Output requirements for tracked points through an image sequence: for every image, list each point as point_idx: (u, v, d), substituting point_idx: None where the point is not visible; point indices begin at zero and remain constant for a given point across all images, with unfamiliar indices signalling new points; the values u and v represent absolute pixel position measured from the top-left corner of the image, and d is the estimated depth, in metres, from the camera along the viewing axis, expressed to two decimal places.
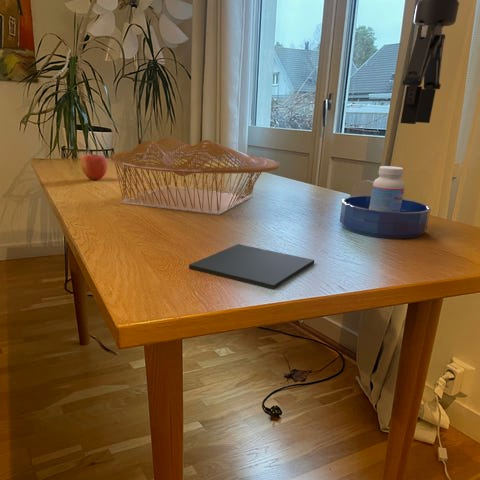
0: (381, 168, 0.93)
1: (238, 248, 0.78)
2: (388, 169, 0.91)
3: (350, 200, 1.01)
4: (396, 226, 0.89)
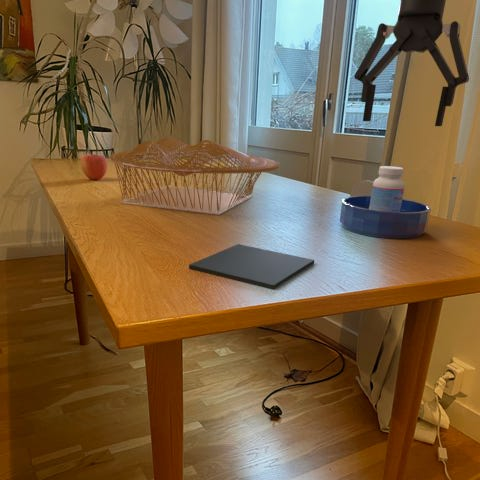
0: (381, 168, 0.93)
1: (238, 248, 0.78)
2: (388, 169, 0.91)
3: (350, 200, 1.01)
4: (396, 226, 0.89)
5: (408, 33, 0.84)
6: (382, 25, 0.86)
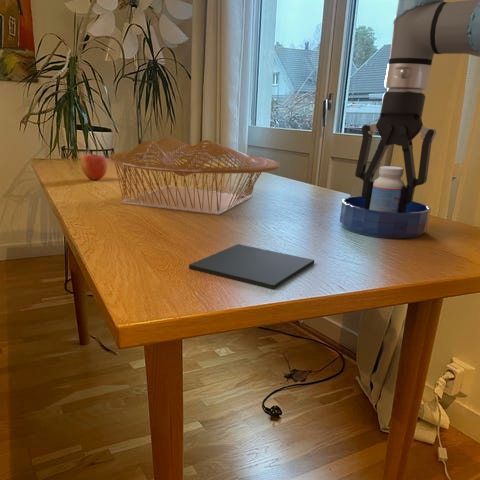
0: (381, 168, 0.93)
1: (238, 248, 0.78)
2: (388, 169, 0.91)
3: (350, 200, 1.01)
4: (396, 226, 0.89)
5: (390, 129, 0.89)
6: (365, 127, 0.92)
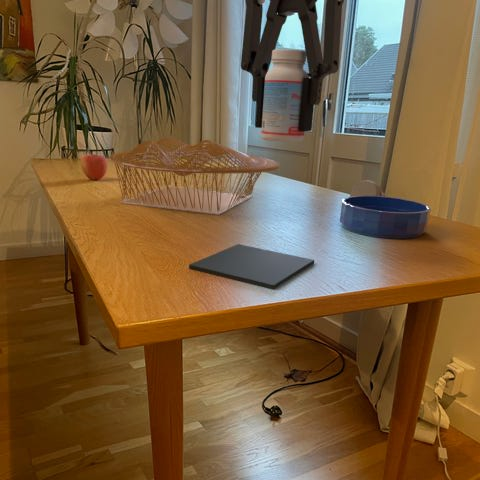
0: (273, 51, 0.63)
1: (238, 248, 0.78)
2: (281, 50, 0.62)
3: (350, 200, 1.01)
4: (396, 226, 0.89)
5: None
6: None
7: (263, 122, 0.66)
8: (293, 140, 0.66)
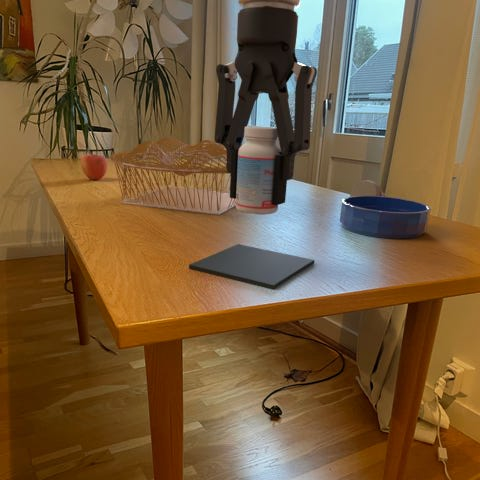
0: (245, 128, 0.63)
1: (238, 248, 0.78)
2: (253, 129, 0.62)
3: (350, 200, 1.01)
4: (396, 226, 0.89)
5: (250, 67, 0.60)
6: (220, 67, 0.63)
7: (237, 194, 0.67)
8: (267, 213, 0.66)
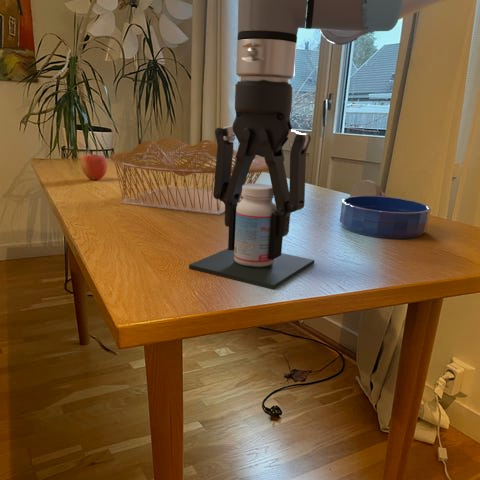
0: (243, 187, 0.67)
1: None
2: (250, 189, 0.66)
3: (350, 200, 1.01)
4: (396, 226, 0.89)
5: (248, 134, 0.63)
6: (219, 130, 0.66)
7: (235, 248, 0.70)
8: (263, 266, 0.69)
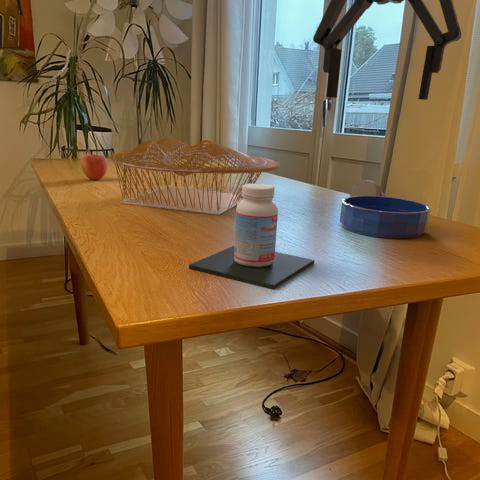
0: (243, 187, 0.67)
1: None
2: (250, 189, 0.66)
3: (350, 200, 1.01)
4: (396, 226, 0.89)
5: None
6: None
7: (235, 248, 0.70)
8: (263, 266, 0.69)
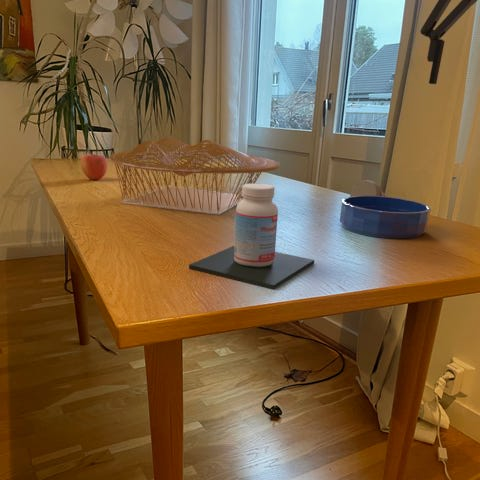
0: (243, 187, 0.67)
1: None
2: (250, 189, 0.66)
3: (350, 200, 1.01)
4: (396, 226, 0.89)
5: None
6: None
7: (235, 248, 0.70)
8: (263, 266, 0.69)
